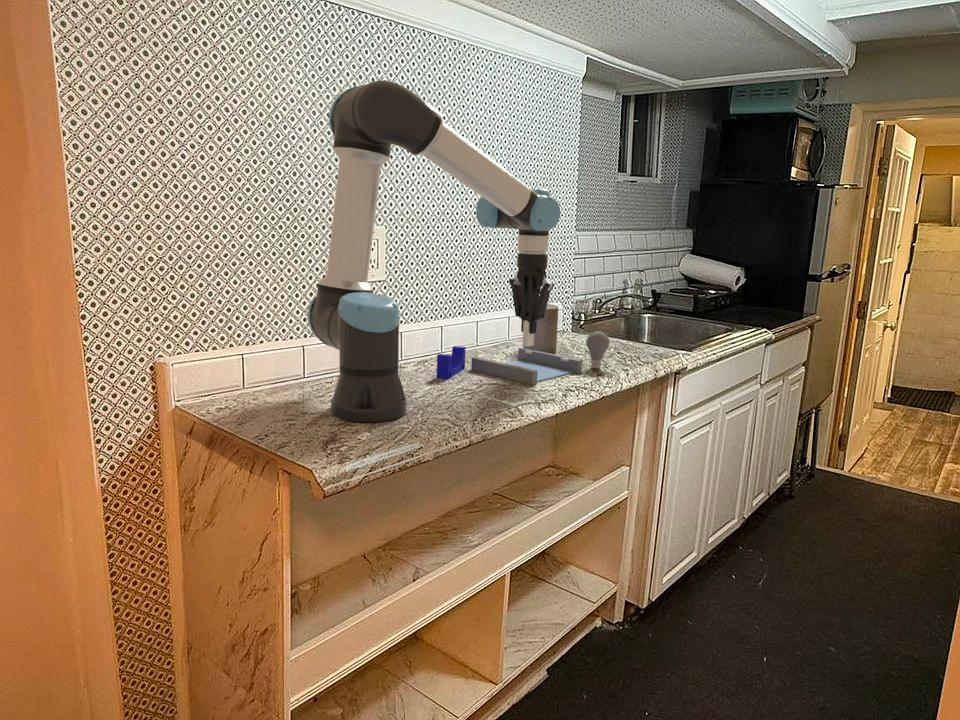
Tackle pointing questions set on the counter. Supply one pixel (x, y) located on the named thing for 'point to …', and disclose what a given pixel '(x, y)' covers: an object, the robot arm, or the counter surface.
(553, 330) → the pillar candle
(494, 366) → the blue panel with rails
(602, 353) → the light bulb
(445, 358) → the cable clip
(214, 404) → the counter surface
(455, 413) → the counter surface
